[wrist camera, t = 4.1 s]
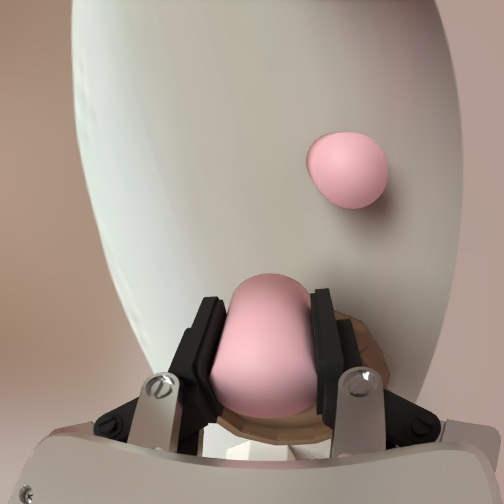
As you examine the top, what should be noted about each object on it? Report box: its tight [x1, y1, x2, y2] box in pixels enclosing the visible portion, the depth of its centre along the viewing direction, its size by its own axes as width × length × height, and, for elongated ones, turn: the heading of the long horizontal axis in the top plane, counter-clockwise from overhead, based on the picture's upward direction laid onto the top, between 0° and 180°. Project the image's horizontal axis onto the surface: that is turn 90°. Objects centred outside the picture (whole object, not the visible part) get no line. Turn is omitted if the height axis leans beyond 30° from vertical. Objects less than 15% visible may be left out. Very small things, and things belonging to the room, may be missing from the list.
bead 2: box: [306, 133, 388, 209], centre depth 14 cm, size 4×4×4 cm
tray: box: [217, 311, 390, 446], centre depth 22 cm, size 16×16×3 cm
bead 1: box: [209, 274, 317, 418], centre depth 10 cm, size 4×4×4 cm
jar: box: [226, 440, 296, 461], centre depth 24 cm, size 9×8×12 cm
